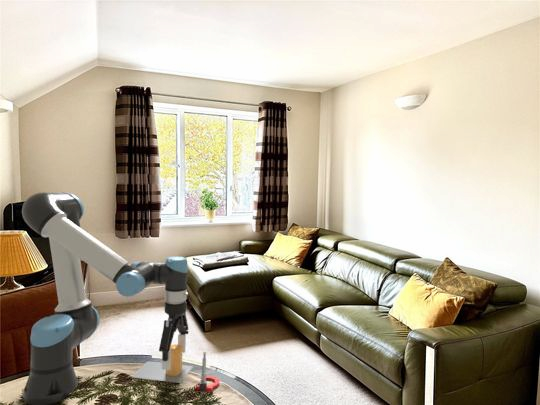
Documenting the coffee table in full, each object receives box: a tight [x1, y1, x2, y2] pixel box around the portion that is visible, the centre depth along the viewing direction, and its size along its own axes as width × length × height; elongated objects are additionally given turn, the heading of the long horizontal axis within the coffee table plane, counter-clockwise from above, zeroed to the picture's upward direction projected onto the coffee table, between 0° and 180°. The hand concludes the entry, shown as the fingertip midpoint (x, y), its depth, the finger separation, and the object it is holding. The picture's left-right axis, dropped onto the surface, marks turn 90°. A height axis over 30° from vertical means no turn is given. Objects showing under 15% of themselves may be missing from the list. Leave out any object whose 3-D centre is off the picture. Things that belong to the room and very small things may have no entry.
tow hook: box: [194, 351, 220, 393], centre depth 127 cm, size 8×13×9 cm
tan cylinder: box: [166, 343, 183, 376], centre depth 131 cm, size 5×5×9 cm
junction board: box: [131, 361, 194, 384], centre depth 131 cm, size 18×12×6 cm, turn 82°
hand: (174, 360), depth 131 cm, fingers open, 13 cm apart
